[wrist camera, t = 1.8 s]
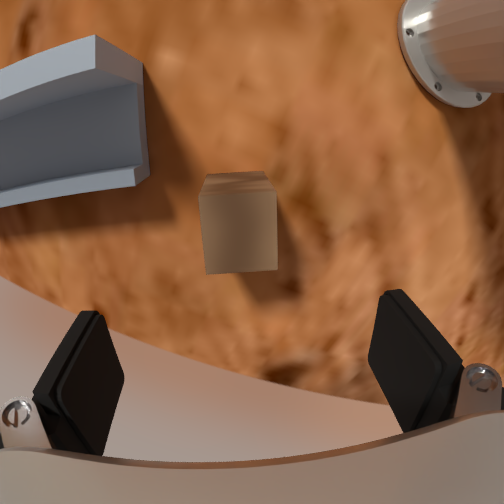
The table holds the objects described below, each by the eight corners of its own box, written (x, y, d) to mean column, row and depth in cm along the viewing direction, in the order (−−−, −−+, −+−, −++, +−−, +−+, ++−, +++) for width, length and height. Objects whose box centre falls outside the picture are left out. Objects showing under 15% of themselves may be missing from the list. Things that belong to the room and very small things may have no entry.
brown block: (262, 170, 26) (276, 191, 18) (264, 236, 28) (277, 279, 21) (207, 174, 26) (198, 196, 18) (212, 239, 28) (207, 284, 20)
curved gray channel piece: (142, 62, 21) (95, 34, 12) (150, 175, 25) (108, 206, 16) (-28, 116, 20) (-96, 128, 11) (-17, 204, 24) (-79, 238, 15)
